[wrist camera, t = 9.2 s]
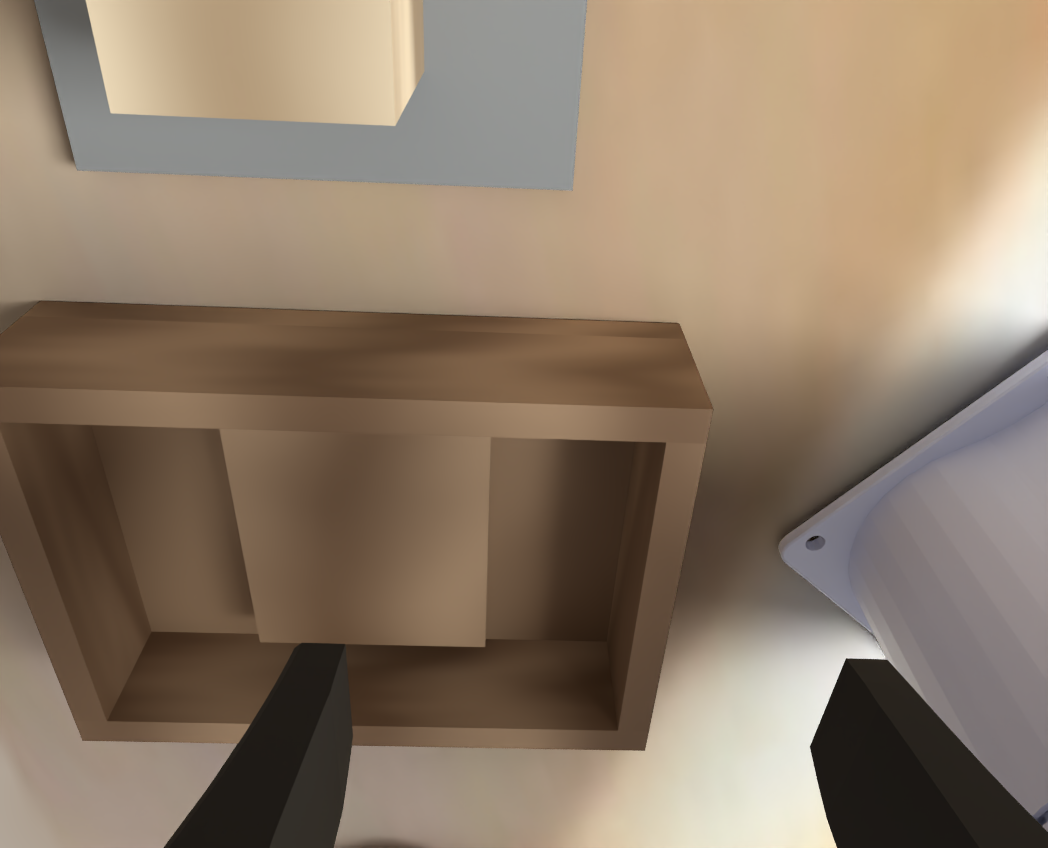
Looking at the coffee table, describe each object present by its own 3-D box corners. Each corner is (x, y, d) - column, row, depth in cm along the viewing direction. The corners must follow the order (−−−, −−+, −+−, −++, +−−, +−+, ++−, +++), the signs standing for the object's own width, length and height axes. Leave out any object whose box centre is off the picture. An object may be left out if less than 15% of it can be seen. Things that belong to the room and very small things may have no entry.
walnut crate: (679, 323, 19) (713, 408, 16) (627, 640, 25) (644, 750, 21) (40, 300, 18) (-60, 384, 15) (140, 629, 24) (82, 740, 21)
